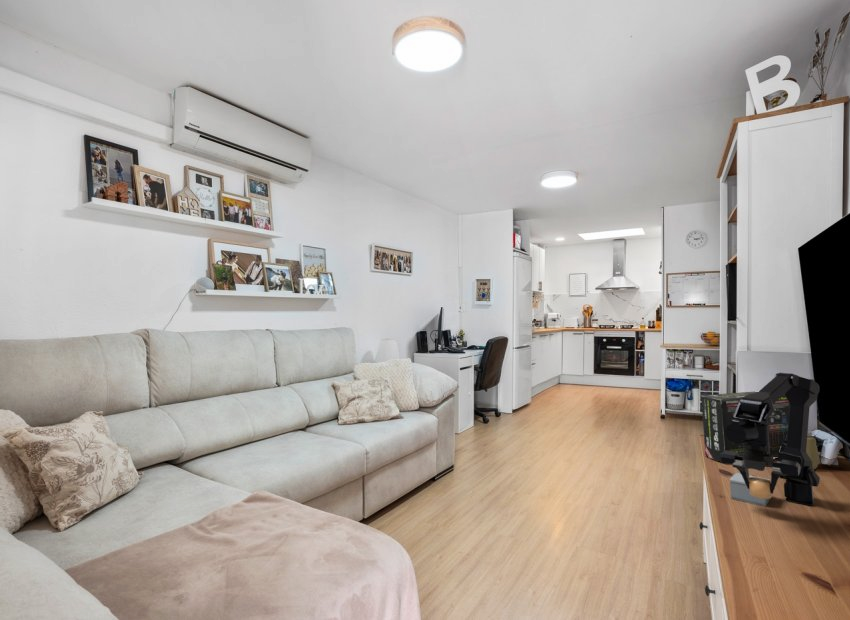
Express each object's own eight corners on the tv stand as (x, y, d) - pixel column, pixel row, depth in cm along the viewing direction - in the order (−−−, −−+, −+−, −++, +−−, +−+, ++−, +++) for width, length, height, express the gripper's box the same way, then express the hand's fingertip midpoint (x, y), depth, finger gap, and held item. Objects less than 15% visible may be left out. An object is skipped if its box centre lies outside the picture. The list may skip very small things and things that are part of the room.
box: (770, 498, 139) (769, 481, 139) (765, 506, 132) (764, 489, 133) (737, 490, 145) (736, 474, 145) (731, 498, 139) (730, 481, 139)
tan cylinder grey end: (772, 494, 128) (771, 479, 128) (769, 500, 124) (768, 484, 125) (751, 490, 132) (750, 475, 132) (748, 495, 128) (747, 480, 128)
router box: (772, 450, 187) (769, 389, 188) (798, 457, 176) (794, 393, 177) (702, 456, 182) (698, 394, 183) (724, 465, 171) (720, 398, 172)
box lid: (770, 481, 139) (769, 479, 139) (764, 488, 132) (764, 486, 132) (735, 474, 145) (735, 472, 145) (729, 481, 139) (729, 479, 139)
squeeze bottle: (787, 466, 167) (785, 420, 167) (799, 463, 170) (796, 418, 170) (813, 472, 159) (810, 424, 160) (824, 469, 162) (821, 422, 163)
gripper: (714, 439, 130) (716, 490, 129) (793, 451, 116) (797, 508, 116) (723, 432, 138) (725, 480, 137) (798, 442, 124) (802, 496, 123)
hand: (760, 490), depth 128 cm, fingers closed on tan cylinder grey end, 5 cm apart
